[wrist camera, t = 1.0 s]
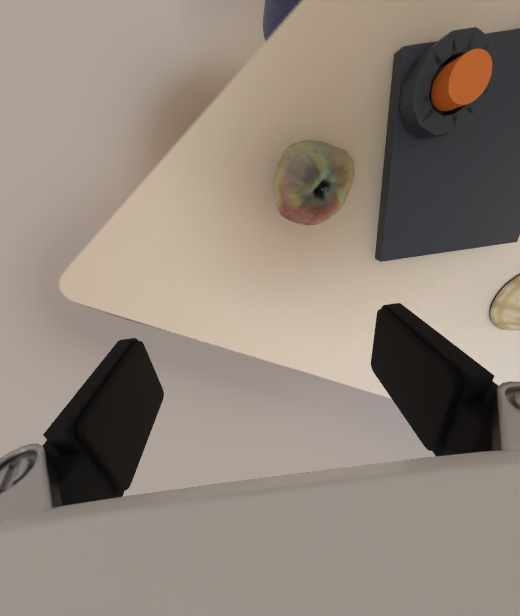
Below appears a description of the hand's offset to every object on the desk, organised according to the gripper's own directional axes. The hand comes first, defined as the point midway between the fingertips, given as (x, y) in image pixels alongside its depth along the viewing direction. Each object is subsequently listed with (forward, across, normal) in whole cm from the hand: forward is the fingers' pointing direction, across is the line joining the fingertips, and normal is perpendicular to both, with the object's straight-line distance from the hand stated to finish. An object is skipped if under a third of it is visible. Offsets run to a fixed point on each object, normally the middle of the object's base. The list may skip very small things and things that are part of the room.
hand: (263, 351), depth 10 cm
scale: (+17, -20, -6) cm, 26 cm away
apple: (+17, -5, -5) cm, 18 cm away
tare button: (+14, -16, -10) cm, 24 cm away
